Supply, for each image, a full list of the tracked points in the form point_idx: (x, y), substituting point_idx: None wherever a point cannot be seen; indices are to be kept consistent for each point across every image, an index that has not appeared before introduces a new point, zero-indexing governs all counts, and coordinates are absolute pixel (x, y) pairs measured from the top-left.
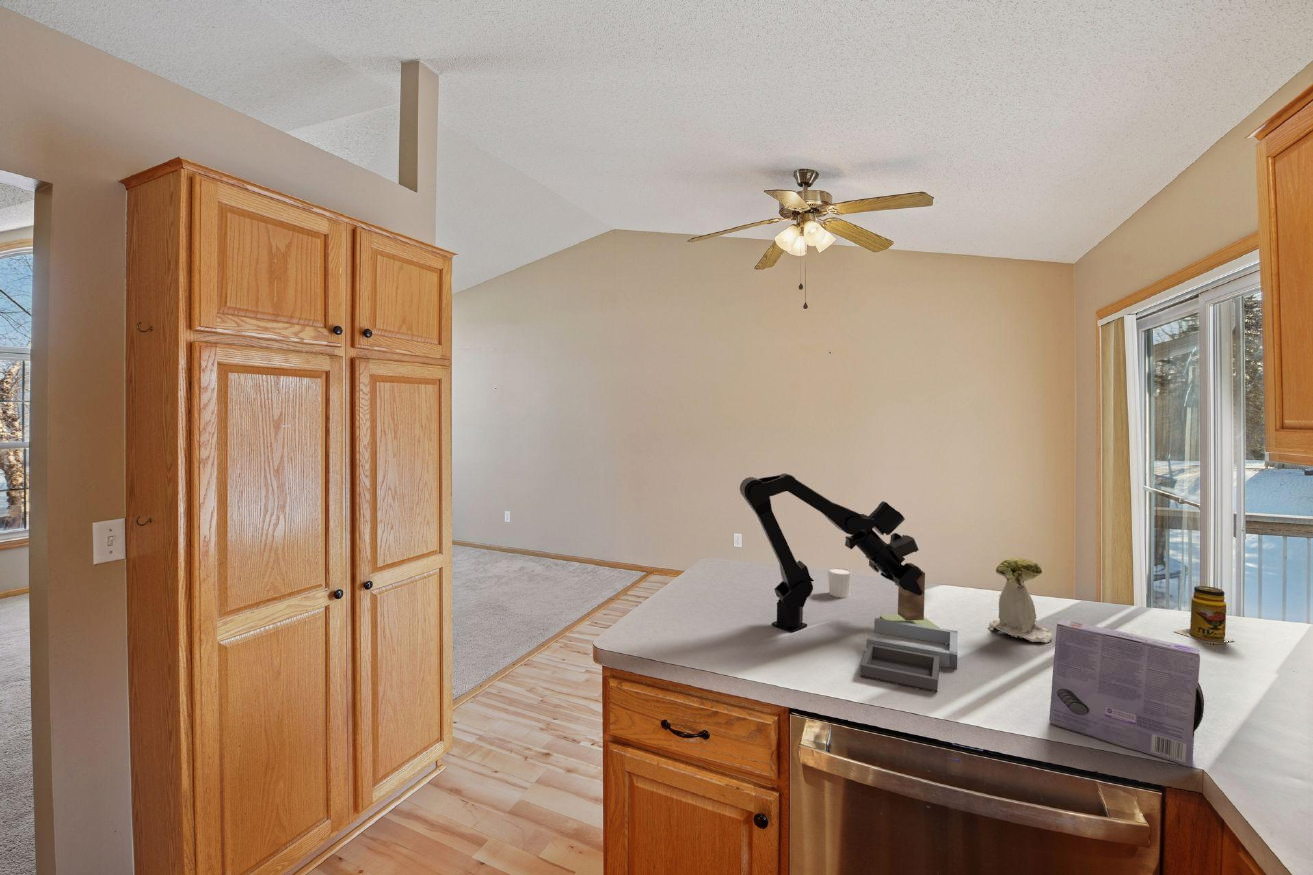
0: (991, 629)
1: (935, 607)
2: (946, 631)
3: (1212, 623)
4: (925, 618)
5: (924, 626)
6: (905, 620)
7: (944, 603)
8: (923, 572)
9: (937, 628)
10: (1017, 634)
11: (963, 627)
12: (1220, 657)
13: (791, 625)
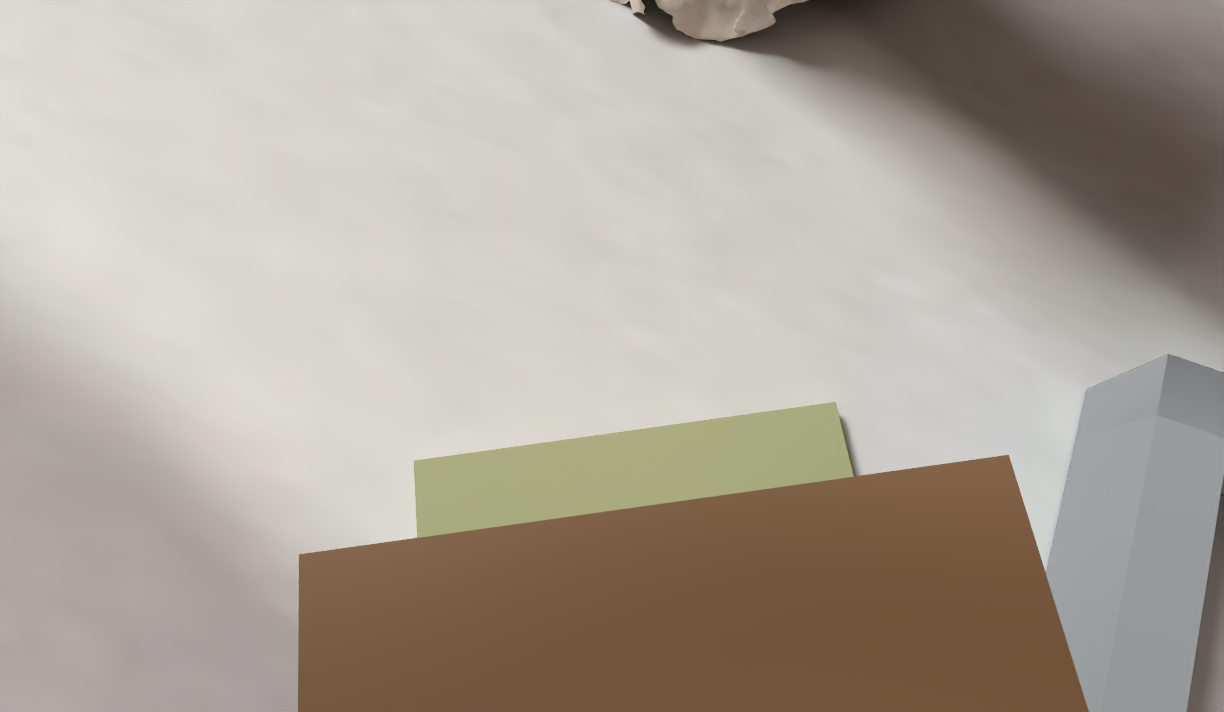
0: (738, 30)
1: (174, 245)
2: (1218, 473)
3: None
4: (520, 457)
5: (1141, 678)
6: None
7: (81, 137)
8: (1011, 515)
9: (1159, 542)
10: None
11: (670, 200)
12: None
13: None
